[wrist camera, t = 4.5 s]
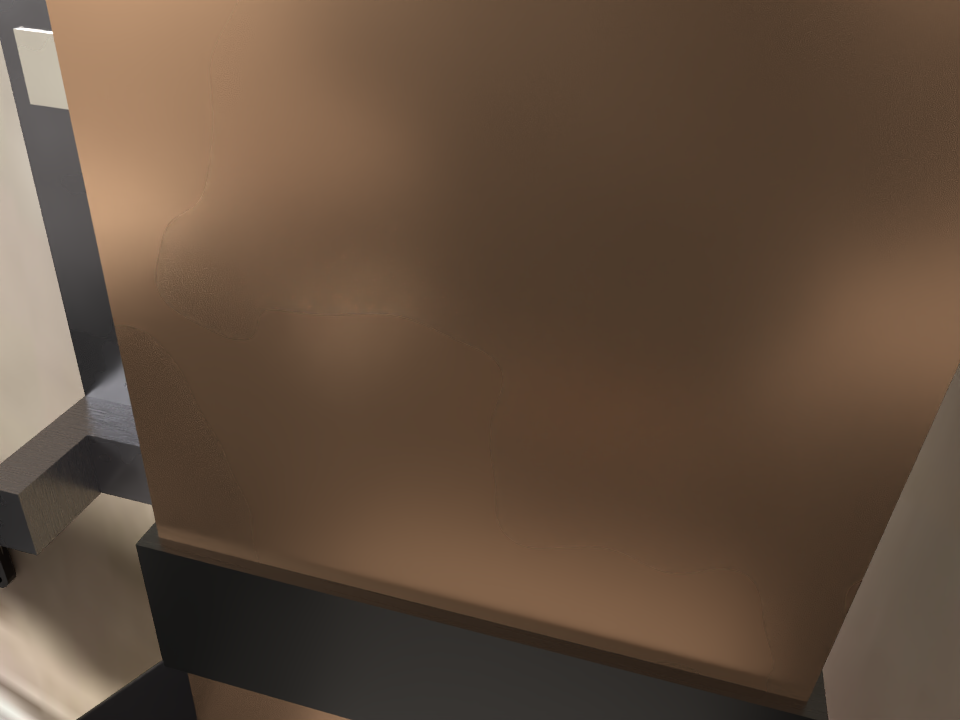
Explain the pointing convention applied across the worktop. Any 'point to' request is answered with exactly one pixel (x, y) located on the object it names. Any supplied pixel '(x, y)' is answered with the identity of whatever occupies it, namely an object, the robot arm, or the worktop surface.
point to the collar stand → (66, 214)
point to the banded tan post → (519, 338)
